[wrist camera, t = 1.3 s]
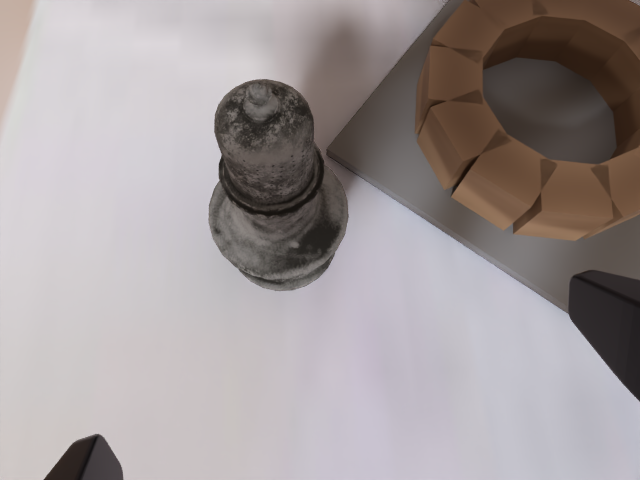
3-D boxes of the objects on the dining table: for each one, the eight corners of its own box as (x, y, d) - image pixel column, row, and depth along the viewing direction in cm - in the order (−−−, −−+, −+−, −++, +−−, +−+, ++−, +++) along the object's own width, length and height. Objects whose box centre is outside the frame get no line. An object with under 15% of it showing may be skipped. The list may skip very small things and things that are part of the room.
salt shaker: (232, 179, 24) (162, -17, 13) (346, 188, 24) (379, 1, 13) (214, 291, 22) (114, 180, 11) (338, 302, 22) (368, 201, 11)
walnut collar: (728, 102, 26) (791, 58, 23) (605, 338, 22) (659, 327, 18) (479, -32, 29) (501, -89, 26) (326, 154, 25) (329, 115, 21)
